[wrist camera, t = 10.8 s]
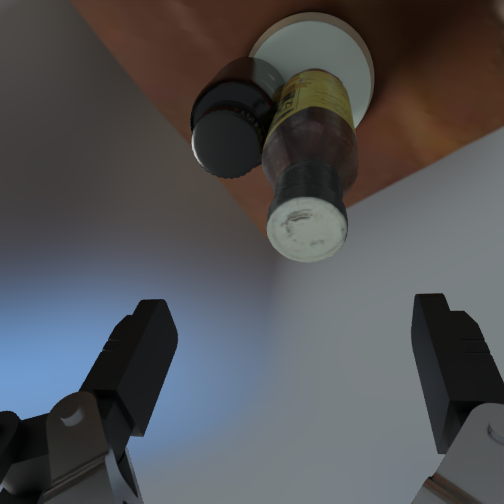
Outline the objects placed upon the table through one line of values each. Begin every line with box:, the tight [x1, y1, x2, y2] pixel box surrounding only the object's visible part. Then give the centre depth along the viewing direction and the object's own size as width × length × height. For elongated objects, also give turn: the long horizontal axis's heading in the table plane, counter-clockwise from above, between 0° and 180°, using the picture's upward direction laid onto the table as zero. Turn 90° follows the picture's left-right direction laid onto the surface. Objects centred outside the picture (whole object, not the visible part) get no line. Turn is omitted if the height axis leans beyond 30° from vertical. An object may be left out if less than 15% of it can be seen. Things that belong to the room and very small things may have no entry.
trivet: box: [249, 12, 374, 128], centre depth 36 cm, size 12×12×2 cm
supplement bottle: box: [190, 57, 285, 179], centre depth 31 cm, size 7×7×12 cm
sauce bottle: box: [262, 68, 358, 262], centre depth 27 cm, size 6×6×20 cm
